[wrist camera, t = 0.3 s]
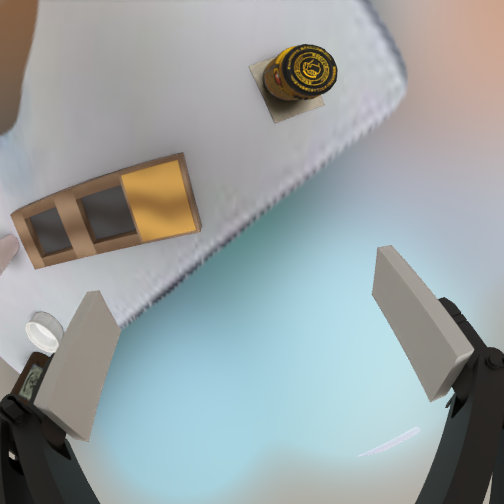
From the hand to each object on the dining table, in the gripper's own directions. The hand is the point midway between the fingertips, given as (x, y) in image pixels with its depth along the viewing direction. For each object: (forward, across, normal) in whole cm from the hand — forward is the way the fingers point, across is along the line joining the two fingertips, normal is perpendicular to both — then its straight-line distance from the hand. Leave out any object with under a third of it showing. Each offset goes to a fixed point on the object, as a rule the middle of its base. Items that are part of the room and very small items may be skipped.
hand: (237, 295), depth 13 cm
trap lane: (+28, -22, -4) cm, 36 cm away
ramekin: (+28, -46, -24) cm, 59 cm away
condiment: (+28, +8, +9) cm, 31 cm away
